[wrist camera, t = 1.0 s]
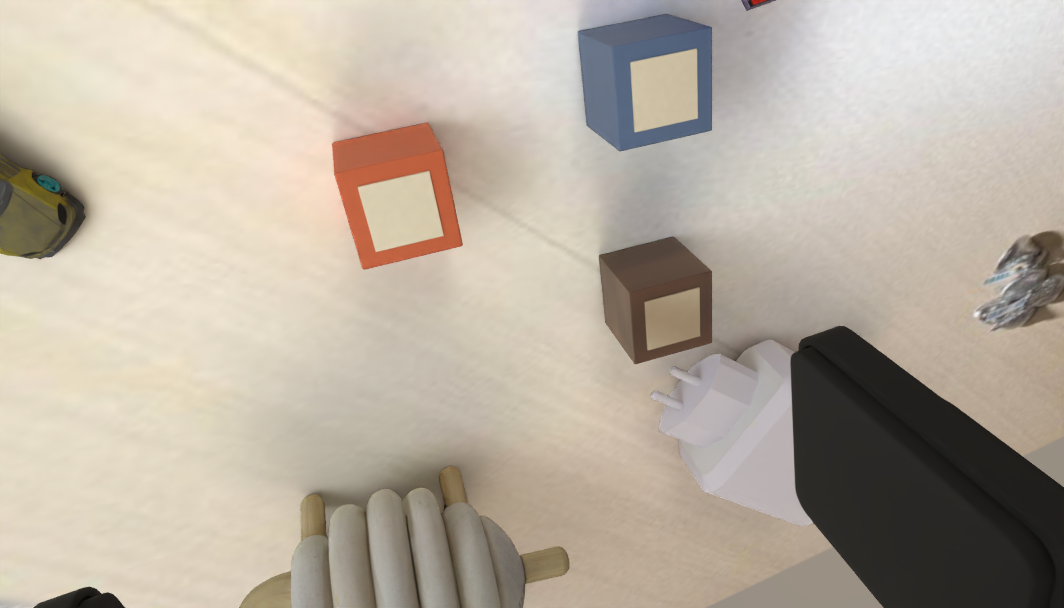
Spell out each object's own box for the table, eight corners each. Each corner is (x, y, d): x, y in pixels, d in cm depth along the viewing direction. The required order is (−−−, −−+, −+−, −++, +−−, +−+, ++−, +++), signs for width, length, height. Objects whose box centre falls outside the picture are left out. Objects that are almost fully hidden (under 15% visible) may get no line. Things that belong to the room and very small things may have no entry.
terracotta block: (331, 142, 30) (333, 173, 26) (428, 122, 30) (443, 150, 27) (357, 230, 32) (363, 271, 28) (447, 210, 33) (463, 247, 29)
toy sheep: (216, 481, 36) (181, 679, 27) (527, 403, 39) (594, 556, 30) (274, 609, 42) (262, 810, 32) (544, 532, 45) (605, 696, 35)
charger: (691, 292, 39) (852, 380, 46) (599, 418, 41) (764, 482, 48) (735, 337, 35) (904, 425, 42) (629, 472, 37) (805, 534, 44)
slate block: (577, 31, 30) (612, 47, 27) (667, 13, 31) (713, 26, 27) (586, 125, 32) (620, 152, 29) (669, 107, 33) (713, 131, 29)
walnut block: (598, 255, 36) (630, 293, 32) (673, 236, 37) (713, 271, 33) (605, 323, 38) (635, 365, 34) (676, 303, 39) (713, 344, 35)
